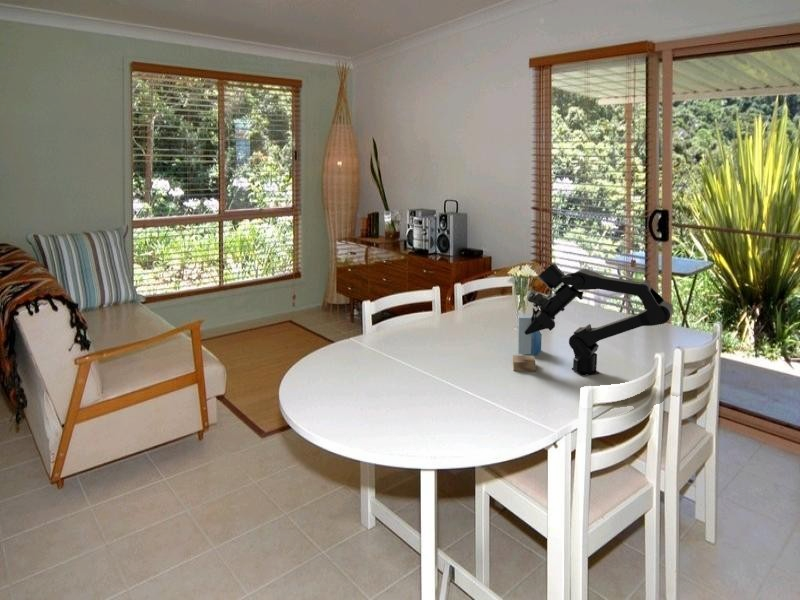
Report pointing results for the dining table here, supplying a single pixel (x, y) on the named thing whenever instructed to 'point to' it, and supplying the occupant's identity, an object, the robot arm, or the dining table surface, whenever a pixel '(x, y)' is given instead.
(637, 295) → the robot arm
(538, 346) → the perfume bottle
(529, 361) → the walnut plinth
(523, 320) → the slate-blue post
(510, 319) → the dining table surface
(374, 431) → the dining table surface
